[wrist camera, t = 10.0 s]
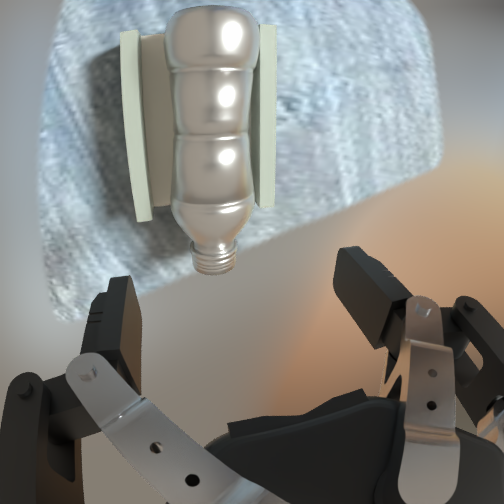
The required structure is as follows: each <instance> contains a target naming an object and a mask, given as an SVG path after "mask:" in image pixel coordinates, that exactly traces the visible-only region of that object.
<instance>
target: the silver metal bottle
mask: <svg viewBox="0 0 504 504" xmlns="http://www.w3.org/2000/svg"><path fill="white" fill-rule="evenodd" d="M260 42H261V40H260V33H259V27H258V23H257V21H256V19H255V18H254V17H253V15H252V14H251V13H250V12H249V11H247V10H245V9H241V8H237V7H231V6H220V5H208V6H197V7H190V8H186V9H183V10H180V11H178V12H176V13H175V14H174V15H173V16H172V17H171V19H170V20H169V21H168V23H167V26H166V30H165V35H164V40H163V46H164V54H165V61H166V65H167V70H169V72H170V75H169V80H170V90H171V100H172V109H173V132H174V138H173V166H172V179H171V195H170V204H171V211H172V213H173V216H174V218H175V220H176V222H177V223H178V225H179V226H180V227H181V228H182V230H183V231H184V232H185V233H186V234H187V235H188V236H189V237H190V238H191V239H192V240H193V241H192V242H191V244H190V250H191V254H192V261H193V266H194V268H195V270H196V271H198V272H199V273H202V274H205V275H220V274H224V273H226V272H228V271H230V270H232V269H233V268H234V266H235V263H236V251H237V241H236V239H235V237H236V236H237V235H238V234H239V232H240V231H241V230H242V229H243V227H244V226H245V225H246V223H247V222H248V220H249V219H250V217H251V214H252V212H253V209H254V205H255V193H254V185H253V176H252V168H251V159H250V136H249V135H248V130H249V111H250V101H251V92H252V83H253V70H254V69H255V67H256V63H257V59H258V54H259V48H260Z"/></svg>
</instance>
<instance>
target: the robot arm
mask: <svg viewBox="0 0 504 504" xmlns="http://www.w3.org/2000/svg"><path fill="white" fill-rule="evenodd" d="M333 287H334V291H335V293H336V295H337V297H338V298H339V299H340V301H341V302H342V303H343V305H344V306H345V308H346V309H347V311H348V312H349V313H350V315H351V316H352V318H353V319H354V320H355V322H356V323H357V325H358V326H359V328H360V329H361V331H362V332H363V333H364V335H365V336H366V338H367V339H368V341H369V342H370V344H371V345H372V346H373V348H374V349H378V348H381V347H384V346H386V347H387V349H388V350H387V352H386V355H385V361H384V368H383V375H382V381H381V387H380V392H379V395H378V397H377V396H368V397H367V396H366V394H365V393H364V391H363V389H358V390H355V391H353V392H350V393H347V394H343V395H341V396H337V397H334V398H332V399H330V400H328V401H327V402H325V403H323V404H322V405H320V406H318V407H316V408H315V409H313V410H311V411H309V412H308V413H306V414H303V415H297V416H261V417H257V418H252V419H247V420H241V421H236V422H231V423H227V425H228V431H229V432H228V433H226V434H223V435H221V436H220V437H217V438H216V439H214V440H213V441H211V442H210V443H208V444H207V445H206V446H205V447H204V448H203V447H202V446H200V445H199V444H198V443H197V442H196V441H194V440H193V439H192V438H191V437H190V436H188V435H187V434H186V433H185V432H184V431H183V430H181V429H180V428H179V427H178V426H177V425H176V424H175V423H174V422H172V421H171V420H170V419H169V418H168V417H167V416H166V415H165V414H164V413H162V412H161V411H160V410H159V409H158V408H157V407H156V406H155V405H154V404H153V403H152V402H151V401H150V400H148V399H147V398H145V397H144V398H143V399H142V398H141V397H140V395H141V341H142V317H141V311H140V307H139V303H138V299H137V296H136V292H135V288H134V285H133V281H132V278H131V276H130V275H129V276H121V277H113V278H110V281H109V286H108V290H107V292H103V293H99V294H98V295H97V296H96V298H95V299H94V300H93V302H92V303H91V307H90V311H89V315H88V320H87V324H86V328H85V333H84V337H83V342H82V347H81V352H80V355H79V356H77V357H76V358H74V359H73V360H72V361H71V362H70V363H69V365H68V367H67V369H66V373H65V374H63V375H61V376H58V377H55V378H52V379H48V380H45V381H42V379H41V378H40V377H39V376H38V375H37V374H35V373H32V372H26V373H22V374H20V375H18V376H17V377H15V378H14V379H13V380H12V382H11V383H10V386H9V387H8V391H7V396H6V400H5V405H4V410H3V416H2V422H1V429H0V504H85V503H84V492H83V479H82V456H81V438H83V437H86V436H89V435H92V434H95V433H98V432H101V431H102V432H103V433H104V434H105V436H106V437H107V438H108V439H109V441H110V442H111V443H112V444H113V445H114V446H115V448H116V449H117V450H118V451H119V452H120V454H121V455H122V456H123V457H124V458H125V459H126V460H127V462H128V463H129V464H130V465H131V466H132V467H133V468H134V469H135V470H136V471H137V472H138V473H139V474H140V475H141V476H142V477H143V479H145V481H146V482H147V483H149V485H150V486H151V487H152V488H154V490H156V492H157V493H159V494H160V495H161V496H162V497H163V498H164V499H165V500H166V501H167V502H166V504H504V329H503V328H502V327H501V325H500V324H499V323H498V322H497V321H496V320H495V319H494V318H493V316H491V314H490V313H489V312H488V311H487V310H486V309H485V308H484V307H483V306H482V305H481V304H480V303H479V302H478V301H477V300H475V299H474V298H471V297H468V296H460V297H458V298H457V299H456V301H455V303H454V306H453V307H439V306H438V305H437V304H436V302H434V301H433V300H432V299H429V298H427V297H424V296H413V295H412V294H411V293H410V292H409V291H408V290H407V289H406V288H405V287H404V285H403V284H402V283H401V282H400V281H399V280H398V279H397V278H396V277H394V275H393V274H392V273H391V272H390V271H388V269H387V268H386V267H385V266H384V265H383V264H382V263H381V262H380V261H378V260H376V259H374V258H372V257H371V256H368V255H367V254H366V253H365V252H364V251H363V250H362V249H361V248H360V247H359V246H352V247H346V248H340V249H339V251H338V254H337V260H336V266H335V272H334V278H333ZM470 341H471V342H472V344H473V345H474V346H475V348H476V349H477V350H478V351H479V353H480V354H481V355H482V357H483V367H482V369H481V370H480V371H479V370H478V368H477V367H476V365H475V364H474V363H473V361H472V360H471V359H470V357H469V356H468V355H467V353H466V352H465V349H466V347H467V346H468V344H469V342H470ZM455 394H456V396H457V397H458V399H459V400H460V402H461V404H462V405H463V407H464V408H465V410H466V411H467V413H468V415H469V416H470V418H471V420H472V421H473V423H474V425H475V426H476V428H477V433H478V435H474V434H472V433H469V432H466V431H464V430H462V429H459V428H457V427H455Z"/></svg>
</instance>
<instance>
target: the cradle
mask: <svg viewBox="0 0 504 504" xmlns="http://www.w3.org/2000/svg"><path fill="white" fill-rule="evenodd" d="M258 27H259V33H260V40H261V42H260V48H259V54H258V59H257V63H256V67H255V69H254V70H253V83H252V92H251V101H250V111H249V130H248V135H249V136H250V159H251V168H252V176H253V185H254V193H255V202H256V203H257V205H258V206H259V208H268V207H274V199H275V155H276V66H277V42H276V25H265V24H260V25H258ZM164 35H165V33H164V34H155V35H147V36H141V35H140V33H139V32H138V30H131V31H125V32H120V59H121V86H122V102H123V116H124V127H125V138H126V147H127V156H128V164H129V172H130V179H131V187H132V193H133V200H134V206H135V212H136V218H137V222H144V221H151V220H152V218H153V210H154V207H159V206H167V205H171V204H170V195H171V179H172V166H173V138H174V132H173V109H172V100H171V90H170V80H169V75H170V72H169V70H167V65H166V61H165V54H164V46H163V40H164Z"/></svg>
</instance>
